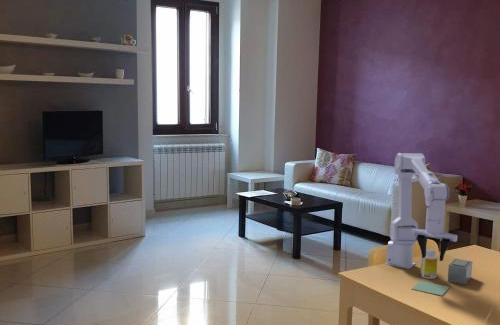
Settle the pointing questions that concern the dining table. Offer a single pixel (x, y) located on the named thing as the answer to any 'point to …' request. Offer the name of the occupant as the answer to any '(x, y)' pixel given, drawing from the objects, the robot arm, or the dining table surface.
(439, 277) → the dining table surface
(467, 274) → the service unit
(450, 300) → the dining table surface
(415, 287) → the pad
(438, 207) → the robot arm
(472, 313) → the dining table surface
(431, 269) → the supplement bottle
